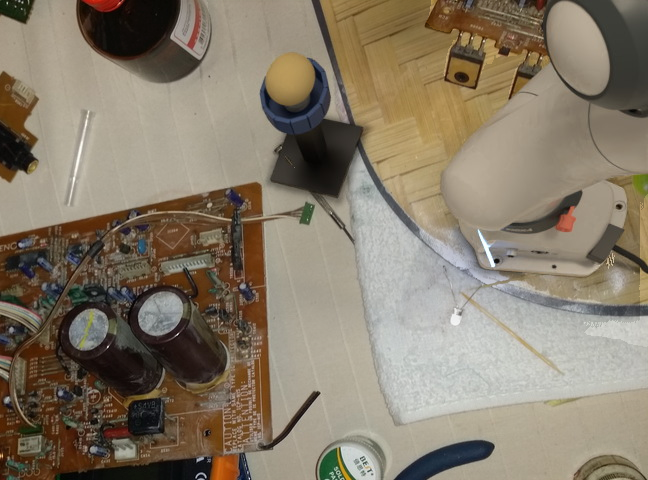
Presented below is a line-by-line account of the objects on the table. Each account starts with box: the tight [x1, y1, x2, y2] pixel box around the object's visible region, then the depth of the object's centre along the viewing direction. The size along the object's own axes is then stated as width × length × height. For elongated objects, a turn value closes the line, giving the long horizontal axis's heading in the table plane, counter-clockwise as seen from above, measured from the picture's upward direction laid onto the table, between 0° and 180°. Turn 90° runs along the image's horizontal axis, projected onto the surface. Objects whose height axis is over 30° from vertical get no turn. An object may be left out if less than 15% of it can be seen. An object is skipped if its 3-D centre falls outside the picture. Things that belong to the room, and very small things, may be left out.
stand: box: [269, 118, 364, 199], centre depth 109 cm, size 12×12×22 cm
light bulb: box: [265, 51, 315, 113], centre depth 94 cm, size 6×6×10 cm
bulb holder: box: [259, 56, 332, 135], centre depth 97 cm, size 9×9×4 cm
